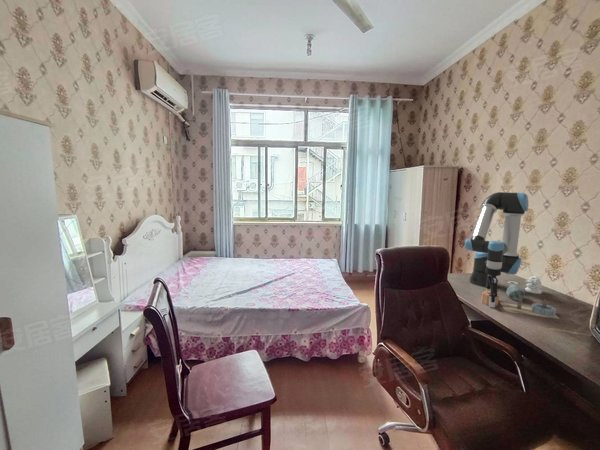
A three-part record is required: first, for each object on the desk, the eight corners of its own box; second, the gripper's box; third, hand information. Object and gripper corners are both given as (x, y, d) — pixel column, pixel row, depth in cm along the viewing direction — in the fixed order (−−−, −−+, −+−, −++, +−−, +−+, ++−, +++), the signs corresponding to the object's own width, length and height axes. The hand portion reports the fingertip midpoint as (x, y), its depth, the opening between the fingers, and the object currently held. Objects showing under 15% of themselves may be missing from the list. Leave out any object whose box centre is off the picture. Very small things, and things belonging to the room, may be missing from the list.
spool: (529, 299, 172) (521, 283, 176) (510, 303, 177) (503, 287, 180) (528, 298, 183) (520, 282, 187) (510, 302, 188) (503, 286, 191)
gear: (528, 306, 168) (529, 301, 168) (551, 310, 165) (552, 305, 164) (534, 314, 159) (535, 309, 159) (559, 317, 155) (559, 312, 155)
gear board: (499, 303, 175) (500, 290, 174) (549, 310, 166) (551, 297, 165) (505, 312, 163) (506, 299, 162) (559, 320, 154) (561, 306, 152)
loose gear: (480, 299, 180) (481, 290, 179) (496, 301, 177) (497, 292, 176) (482, 304, 173) (484, 294, 172) (499, 307, 170) (500, 297, 169)
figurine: (521, 287, 203) (523, 272, 202) (538, 289, 200) (540, 274, 198) (527, 293, 192) (529, 277, 191) (544, 295, 189) (546, 279, 187)
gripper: (482, 261, 184) (478, 294, 187) (490, 272, 162) (486, 309, 165) (496, 263, 181) (492, 296, 184) (506, 274, 159) (501, 312, 162)
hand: (489, 303), depth 175 cm, fingers open, 12 cm apart
